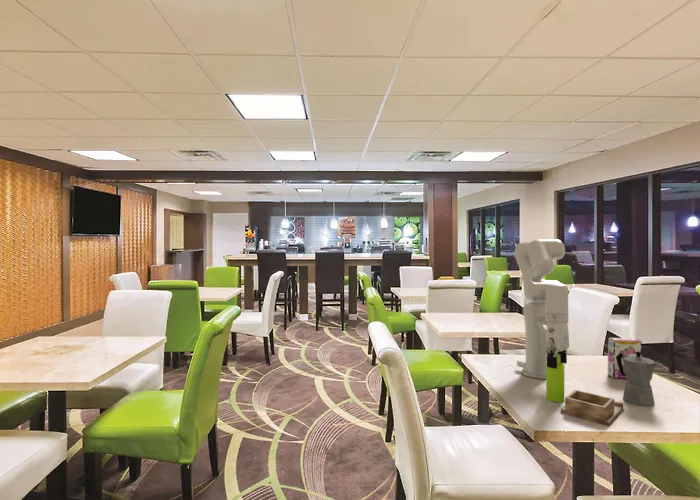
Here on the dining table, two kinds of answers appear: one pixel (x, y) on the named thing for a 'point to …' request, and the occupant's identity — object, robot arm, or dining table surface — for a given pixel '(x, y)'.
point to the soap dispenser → (555, 381)
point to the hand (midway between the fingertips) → (557, 365)
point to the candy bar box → (620, 346)
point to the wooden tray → (592, 407)
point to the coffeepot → (637, 378)
